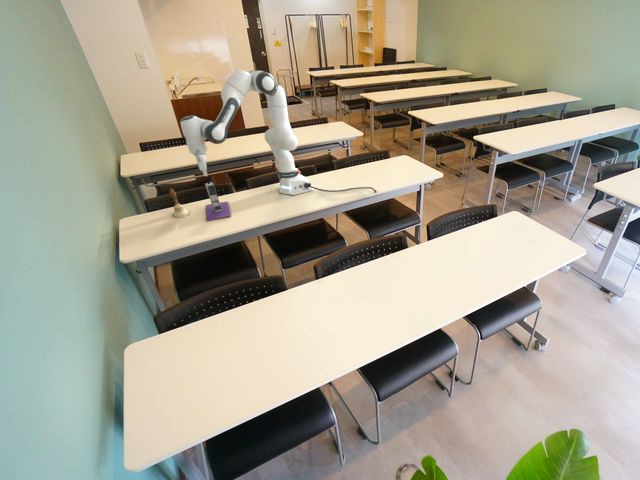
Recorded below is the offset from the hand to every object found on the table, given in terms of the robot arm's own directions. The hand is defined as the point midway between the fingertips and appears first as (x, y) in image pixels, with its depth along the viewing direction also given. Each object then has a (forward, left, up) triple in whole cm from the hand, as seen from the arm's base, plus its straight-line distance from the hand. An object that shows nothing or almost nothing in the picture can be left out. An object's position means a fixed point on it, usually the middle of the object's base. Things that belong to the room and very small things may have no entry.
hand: (205, 173), depth 192 cm
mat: (0, 0, -24) cm, 24 cm away
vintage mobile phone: (0, +1, -23) cm, 23 cm away
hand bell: (+20, -5, -24) cm, 32 cm away
